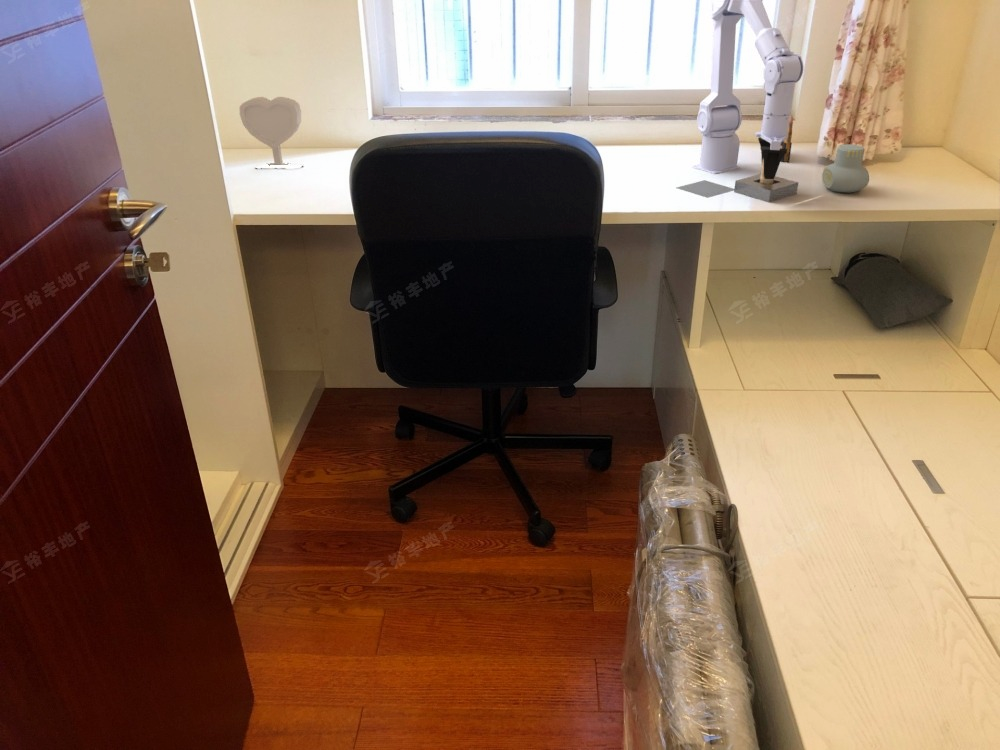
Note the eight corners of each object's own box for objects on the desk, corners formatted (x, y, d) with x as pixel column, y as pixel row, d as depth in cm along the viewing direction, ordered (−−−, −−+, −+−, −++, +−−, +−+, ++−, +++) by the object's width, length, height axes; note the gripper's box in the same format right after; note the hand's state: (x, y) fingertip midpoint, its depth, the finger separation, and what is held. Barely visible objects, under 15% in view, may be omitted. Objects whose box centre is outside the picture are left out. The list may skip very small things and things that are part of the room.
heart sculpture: (248, 169, 215) (235, 100, 206) (254, 164, 219) (243, 96, 210) (304, 169, 214) (294, 99, 205) (309, 164, 218) (300, 96, 209)
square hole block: (761, 185, 192) (763, 173, 190) (796, 195, 185) (798, 182, 183) (733, 193, 187) (735, 180, 186) (768, 203, 180) (770, 190, 178)
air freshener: (869, 196, 183) (878, 152, 178) (833, 197, 183) (841, 153, 178) (851, 182, 192) (860, 141, 187) (817, 183, 193) (825, 141, 188)
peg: (762, 191, 188) (768, 153, 183) (774, 194, 186) (779, 155, 181) (755, 194, 186) (760, 155, 182) (766, 196, 184) (772, 158, 180)
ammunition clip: (767, 152, 218) (774, 107, 212) (774, 152, 218) (780, 107, 212) (782, 162, 209) (789, 116, 203) (789, 162, 209) (796, 115, 203)
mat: (704, 181, 196) (704, 180, 196) (736, 190, 189) (736, 189, 189) (675, 188, 191) (675, 187, 191) (707, 198, 184) (707, 197, 184)
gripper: (756, 106, 184) (748, 164, 190) (760, 120, 171) (751, 182, 178) (788, 106, 182) (779, 165, 189) (794, 121, 170) (784, 183, 177)
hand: (767, 173), depth 184 cm, fingers open, 7 cm apart
